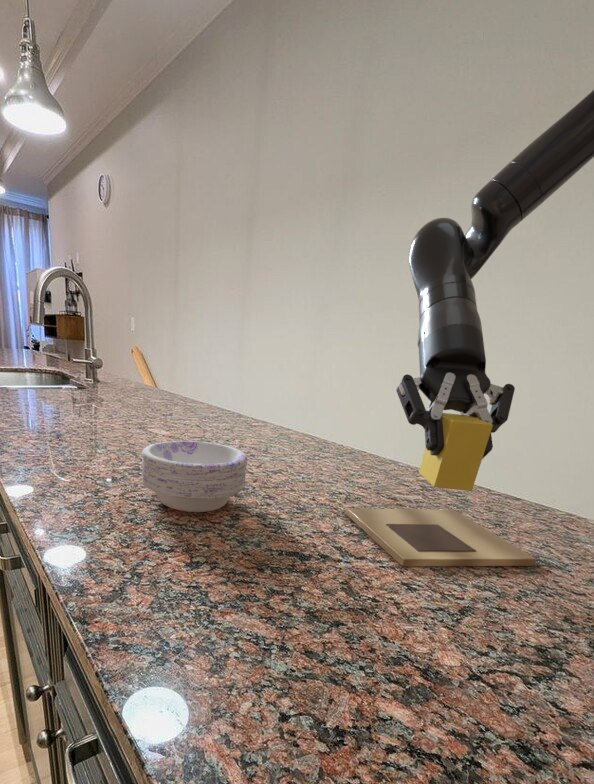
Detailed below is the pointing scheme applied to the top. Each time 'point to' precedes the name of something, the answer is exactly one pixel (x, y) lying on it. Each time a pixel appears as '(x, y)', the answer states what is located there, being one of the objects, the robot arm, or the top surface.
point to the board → (437, 538)
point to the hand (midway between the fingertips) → (459, 453)
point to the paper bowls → (193, 474)
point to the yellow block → (457, 453)
